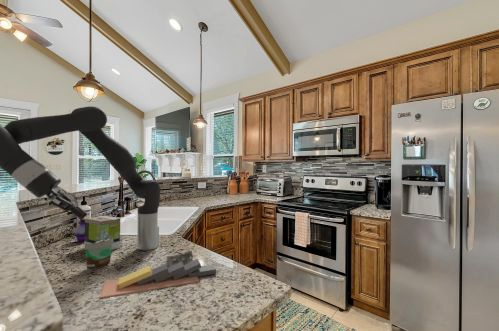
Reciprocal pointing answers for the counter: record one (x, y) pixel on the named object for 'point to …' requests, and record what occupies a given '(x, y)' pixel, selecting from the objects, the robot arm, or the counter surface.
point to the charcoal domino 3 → (188, 268)
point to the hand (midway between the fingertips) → (84, 216)
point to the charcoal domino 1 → (155, 274)
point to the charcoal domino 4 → (203, 271)
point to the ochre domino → (134, 277)
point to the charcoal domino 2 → (172, 271)
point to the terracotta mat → (142, 286)
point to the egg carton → (180, 258)
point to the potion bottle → (80, 231)
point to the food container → (98, 253)
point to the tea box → (102, 230)
